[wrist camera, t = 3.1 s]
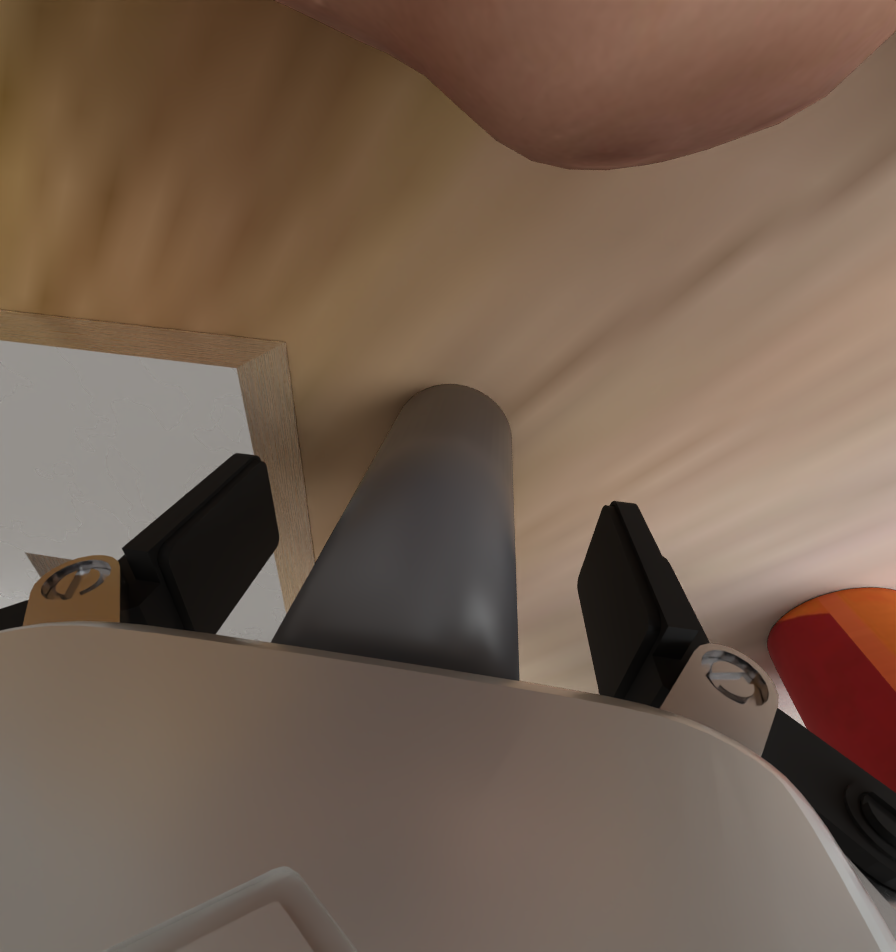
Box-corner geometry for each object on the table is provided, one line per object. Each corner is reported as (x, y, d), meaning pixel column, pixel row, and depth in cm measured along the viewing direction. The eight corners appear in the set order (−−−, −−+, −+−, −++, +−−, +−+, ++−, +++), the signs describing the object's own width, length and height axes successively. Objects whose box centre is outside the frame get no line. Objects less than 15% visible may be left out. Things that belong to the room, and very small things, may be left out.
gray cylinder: (394, 377, 14) (229, 603, 6) (521, 392, 14) (547, 653, 5) (393, 483, 16) (276, 755, 8) (502, 497, 16) (498, 794, 8)
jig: (-138, 294, 15) (-425, 324, 10) (285, 342, 14) (178, 399, 9) (105, 676, 28) (26, 765, 23) (334, 714, 27) (299, 815, 22)
